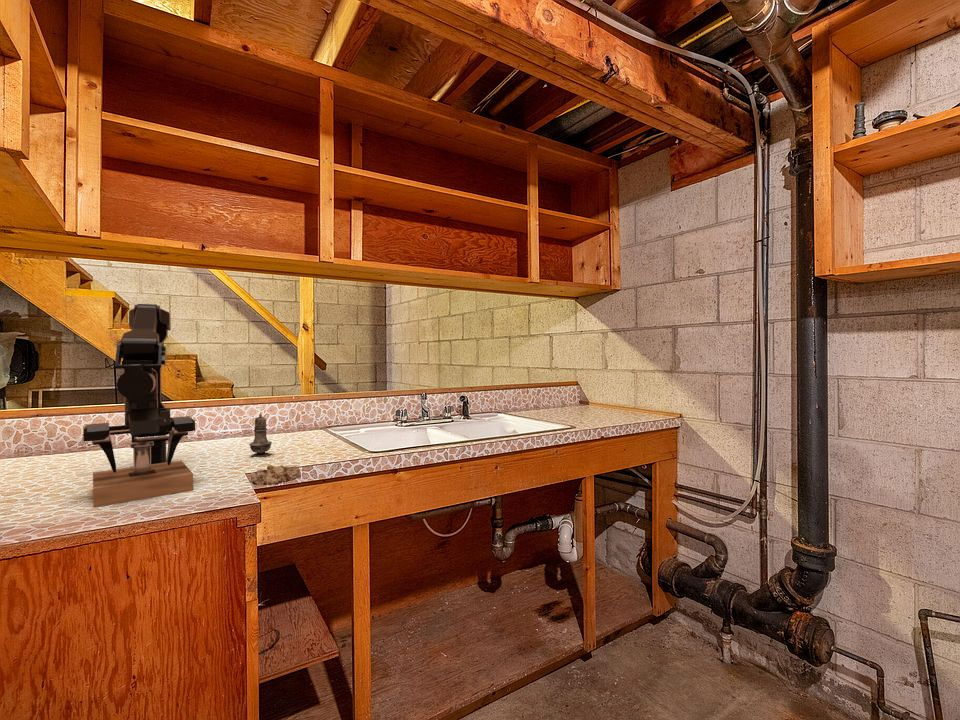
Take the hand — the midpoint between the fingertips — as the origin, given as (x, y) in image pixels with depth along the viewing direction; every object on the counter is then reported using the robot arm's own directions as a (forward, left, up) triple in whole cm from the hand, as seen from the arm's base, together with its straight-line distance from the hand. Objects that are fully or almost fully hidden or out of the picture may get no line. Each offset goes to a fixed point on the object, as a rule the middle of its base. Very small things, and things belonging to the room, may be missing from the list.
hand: (142, 468), depth 96 cm
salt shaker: (-17, +28, -5) cm, 33 cm away
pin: (0, 0, -4) cm, 5 cm away
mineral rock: (+11, +24, -5) cm, 27 cm away
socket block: (0, 0, -4) cm, 4 cm away
